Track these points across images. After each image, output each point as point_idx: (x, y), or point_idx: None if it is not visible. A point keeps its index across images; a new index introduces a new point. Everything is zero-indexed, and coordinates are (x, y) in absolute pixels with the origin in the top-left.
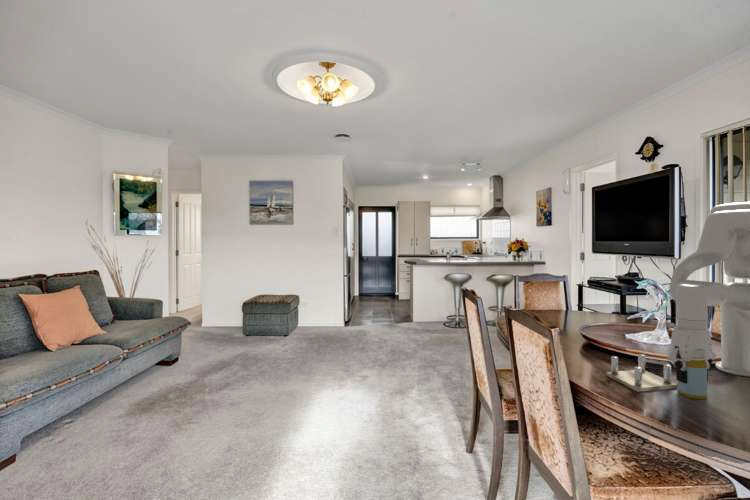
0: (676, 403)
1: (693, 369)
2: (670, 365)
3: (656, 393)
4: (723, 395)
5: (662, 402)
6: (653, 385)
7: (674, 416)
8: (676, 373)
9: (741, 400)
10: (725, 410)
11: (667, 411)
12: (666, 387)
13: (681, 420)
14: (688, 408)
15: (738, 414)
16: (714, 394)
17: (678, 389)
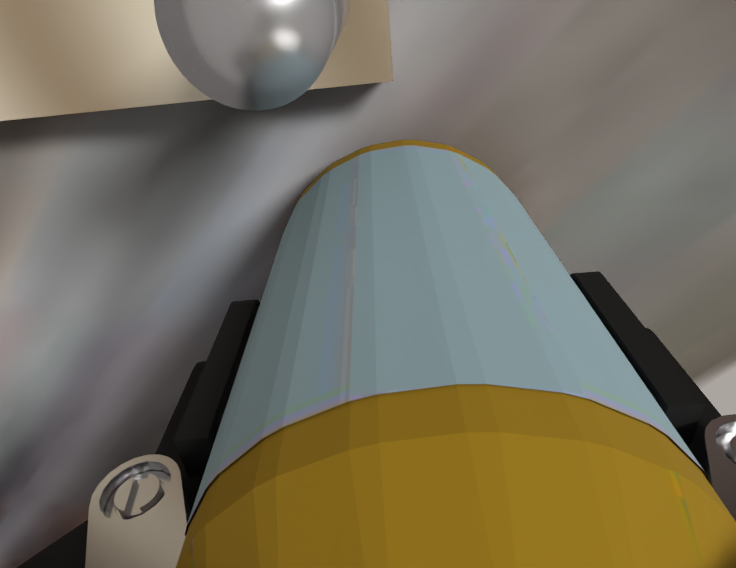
0: (143, 376)
1: None
2: (303, 65)
3: (63, 185)
4: (678, 282)
5: (36, 355)
6: (54, 73)
7: (28, 509)
8: (210, 358)
9: (702, 371)
10: None
11: (12, 463)
12: None
13: (48, 540)
14: None
15: None
16: (623, 256)
17: (283, 234)
